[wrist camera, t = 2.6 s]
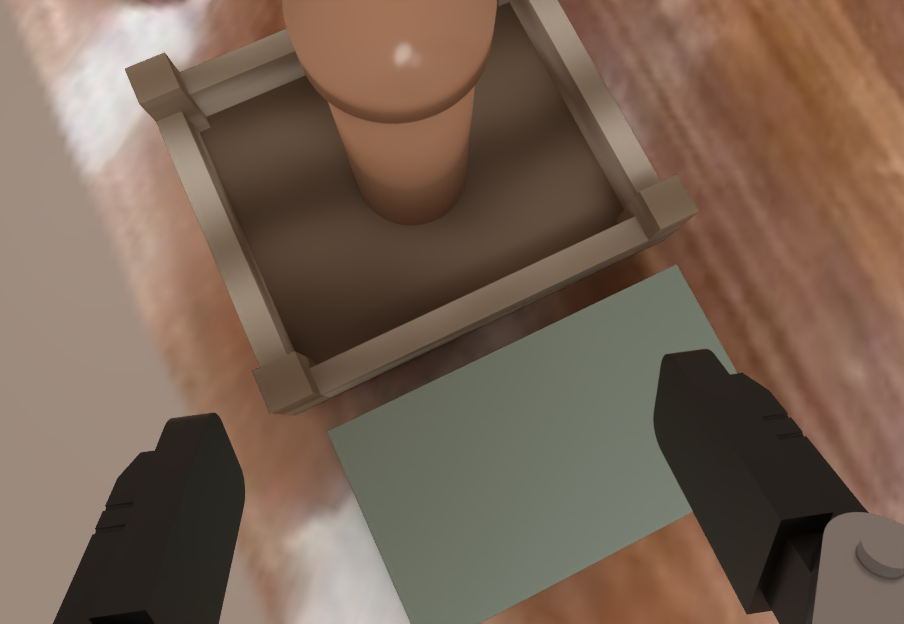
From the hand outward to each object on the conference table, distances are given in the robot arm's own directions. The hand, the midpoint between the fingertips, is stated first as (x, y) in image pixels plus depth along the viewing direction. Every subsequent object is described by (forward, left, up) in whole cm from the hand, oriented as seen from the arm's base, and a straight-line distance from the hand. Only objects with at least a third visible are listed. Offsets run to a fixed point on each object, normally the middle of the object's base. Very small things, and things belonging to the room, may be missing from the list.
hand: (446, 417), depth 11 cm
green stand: (-1, +4, -16) cm, 17 cm away
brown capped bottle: (-10, -7, -16) cm, 20 cm away
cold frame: (-10, -7, -16) cm, 20 cm away
